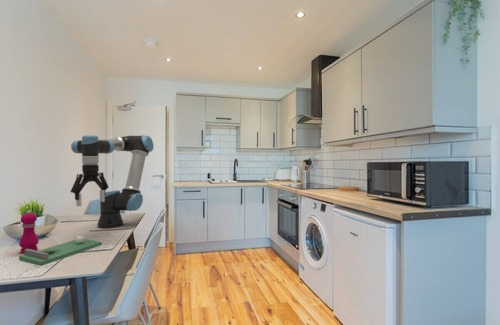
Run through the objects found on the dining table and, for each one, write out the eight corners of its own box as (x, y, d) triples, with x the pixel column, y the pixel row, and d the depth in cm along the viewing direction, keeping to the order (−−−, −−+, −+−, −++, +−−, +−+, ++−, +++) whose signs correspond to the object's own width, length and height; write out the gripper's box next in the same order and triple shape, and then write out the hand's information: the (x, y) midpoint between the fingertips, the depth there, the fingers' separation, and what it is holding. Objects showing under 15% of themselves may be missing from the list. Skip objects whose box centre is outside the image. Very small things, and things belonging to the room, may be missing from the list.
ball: (81, 241, 135) (81, 234, 135) (86, 242, 133) (86, 235, 133) (73, 244, 131) (73, 236, 131) (78, 245, 129) (78, 237, 129)
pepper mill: (16, 252, 124) (15, 210, 123) (34, 247, 130) (34, 208, 130) (23, 255, 120) (22, 212, 120) (41, 250, 127) (41, 209, 126)
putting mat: (80, 241, 141) (80, 233, 140) (101, 244, 135) (101, 237, 134) (18, 259, 115) (18, 250, 115) (41, 265, 109) (41, 256, 109)
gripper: (105, 163, 151) (105, 199, 151) (61, 164, 127) (62, 207, 128) (115, 163, 148) (115, 200, 149) (72, 165, 125) (73, 208, 125)
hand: (91, 203), depth 138 cm, fingers open, 13 cm apart
